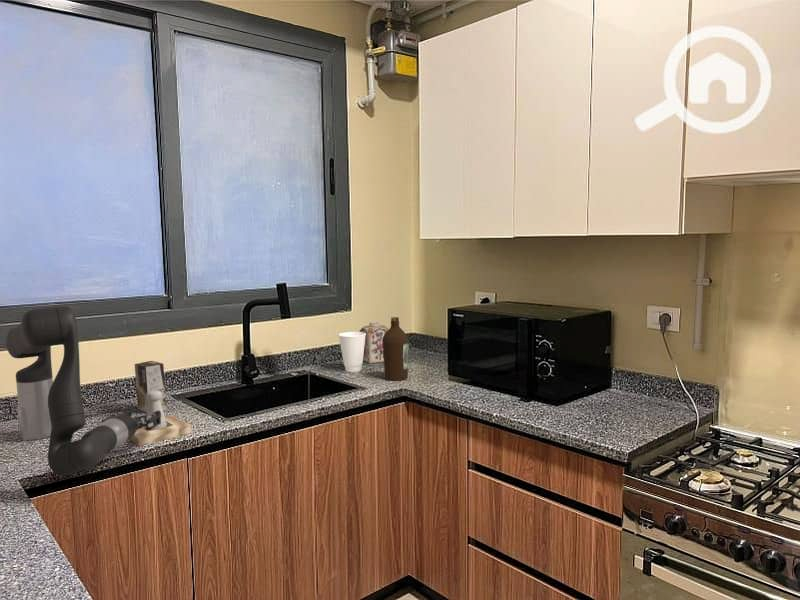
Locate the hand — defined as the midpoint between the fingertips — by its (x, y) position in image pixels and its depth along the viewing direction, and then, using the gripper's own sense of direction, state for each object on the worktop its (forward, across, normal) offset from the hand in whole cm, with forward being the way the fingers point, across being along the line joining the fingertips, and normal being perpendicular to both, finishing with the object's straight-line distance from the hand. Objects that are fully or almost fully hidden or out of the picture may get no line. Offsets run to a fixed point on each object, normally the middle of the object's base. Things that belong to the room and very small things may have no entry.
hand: (144, 413), depth 166 cm
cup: (+88, -48, +8) cm, 101 cm away
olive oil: (+72, -68, +8) cm, 100 cm away
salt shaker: (+6, 0, +8) cm, 10 cm away
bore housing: (+6, 0, +8) cm, 10 cm away
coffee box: (+31, +14, +8) cm, 35 cm away
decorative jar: (+108, -56, +8) cm, 122 cm away
